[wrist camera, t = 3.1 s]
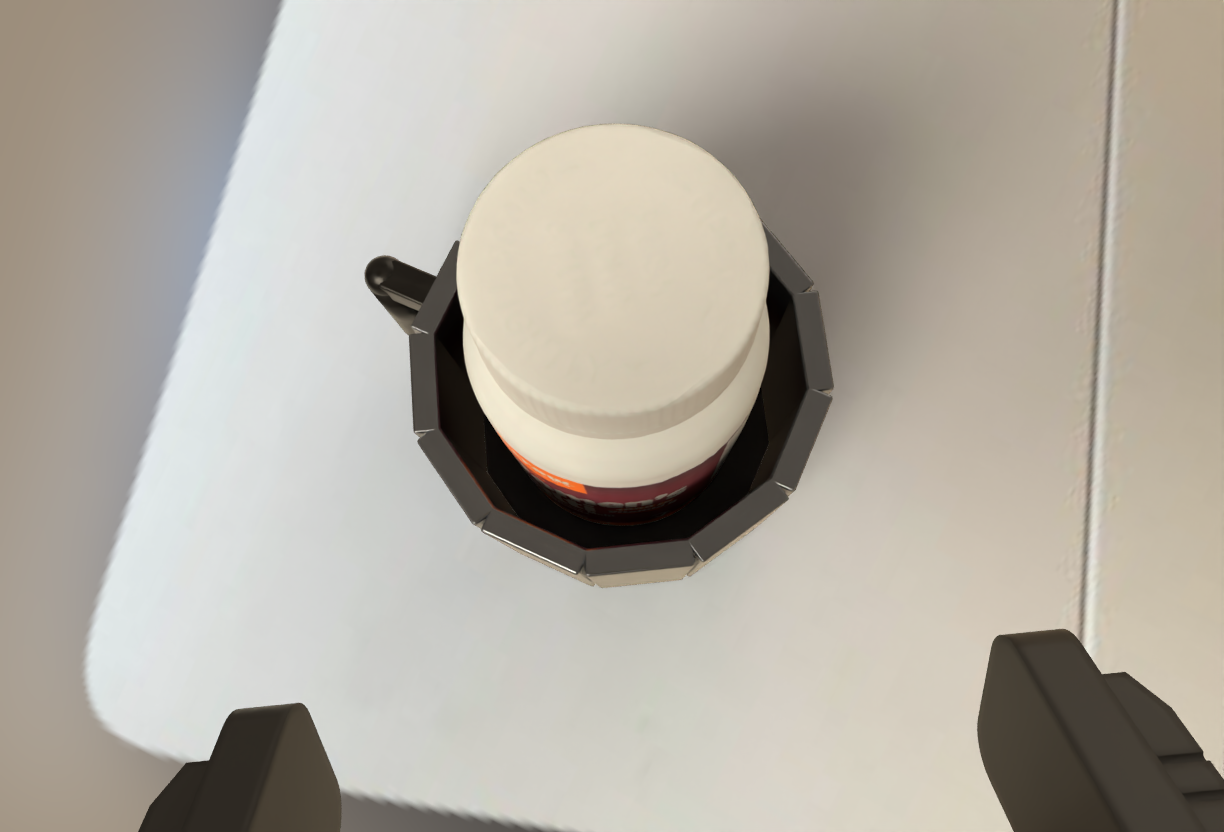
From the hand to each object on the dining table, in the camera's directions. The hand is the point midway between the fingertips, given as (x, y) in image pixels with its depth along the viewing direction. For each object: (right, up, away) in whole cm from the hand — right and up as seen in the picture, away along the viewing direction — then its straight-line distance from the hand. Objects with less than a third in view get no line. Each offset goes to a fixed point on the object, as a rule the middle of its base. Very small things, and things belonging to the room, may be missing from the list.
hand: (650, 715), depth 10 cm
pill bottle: (0, +3, +15) cm, 15 cm away
